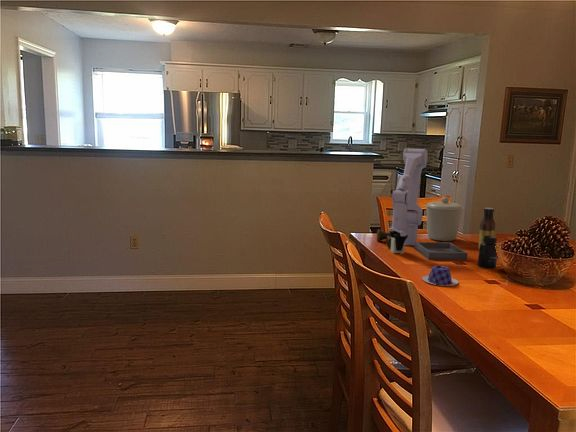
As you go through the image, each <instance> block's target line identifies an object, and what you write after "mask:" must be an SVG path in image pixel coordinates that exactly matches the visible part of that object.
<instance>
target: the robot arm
mask: <svg viewBox="0 0 576 432" xmlns="http://www.w3.org/2000/svg"><path fill="white" fill-rule="evenodd" d="M428 154H429V153H428V150H427V148H408V147H405V148H404V149H403V154H402V158H403V162H404V164H405V165H404V169H403V174H402V175H401V176H400V177H399V178H398V182H397V183H398V184H397V186H396V189H395V190H393V192H392V195H391V196H392V197H391V201H392V207H393V208H392V223H391V227H388V230H390V231H389V232H388V233H390V235H391V237H395V242H396V250H397V251H402V248H403V245H404V246H415V242H418V240H417V239H418V229H419V226H421V224H422V221H423V212H424V211H423V209H422V207H421V206H419V205H418V202H419V201H418V200H419V194H420V184H421V177H422V176H421V175H422V172H423V171H422V170H423V169H425V168H426V167H427V164H428ZM404 242H405V243H404Z"/></svg>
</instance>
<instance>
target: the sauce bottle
mask: <svg viewBox="0 0 576 432" xmlns="http://www.w3.org/2000/svg"><path fill="white" fill-rule="evenodd" d="M494 212H495V208H493V207H484V208H483V218H482V220H481V221H480V226H479V235H478V247H477V248H478V249H479V248H480V244H481V243H482V242H484V241H483V238H484V236H494V237H496V236H495V235H496V222H495V220H494Z"/></svg>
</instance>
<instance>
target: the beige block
mask: <svg viewBox="0 0 576 432" xmlns="http://www.w3.org/2000/svg"><path fill="white" fill-rule="evenodd" d="M404 243H405V242H404ZM390 252H391V253H392V254H393V253H400V254H399V255H401V254H402V255H403V254H404V253H405V245H403V248H402V251H397V250H396V242H395V237H391V248H390Z"/></svg>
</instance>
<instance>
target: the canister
mask: <svg viewBox="0 0 576 432" xmlns="http://www.w3.org/2000/svg"><path fill="white" fill-rule="evenodd" d="M440 200H441V201H430V202H428V203H427V204H425V205H424V206H425V208H426V232H427V236H428V238H429V239H431V240H434V241H436V242H438V241H439V242H452V241H454V240H456V238H457V236H458V232H459V228H460V225H461V220H462V215H463V210H465V207H464V206H463V205H462V204H459V203H456V202H449V201H450V199H449V197H448V196H443V197H441V199H440Z"/></svg>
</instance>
